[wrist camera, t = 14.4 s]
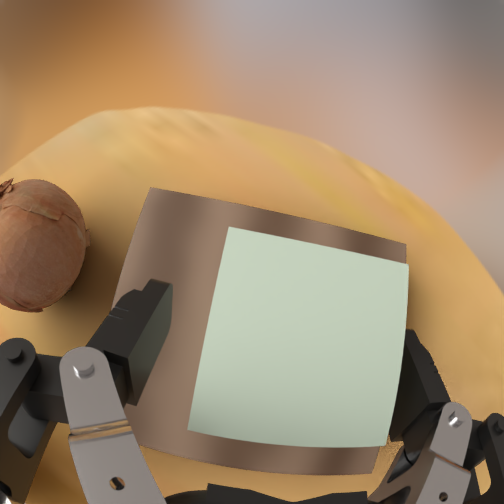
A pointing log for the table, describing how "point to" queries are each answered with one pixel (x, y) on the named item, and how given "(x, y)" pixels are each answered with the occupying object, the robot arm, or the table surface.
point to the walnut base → (196, 319)
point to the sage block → (301, 345)
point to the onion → (38, 244)
